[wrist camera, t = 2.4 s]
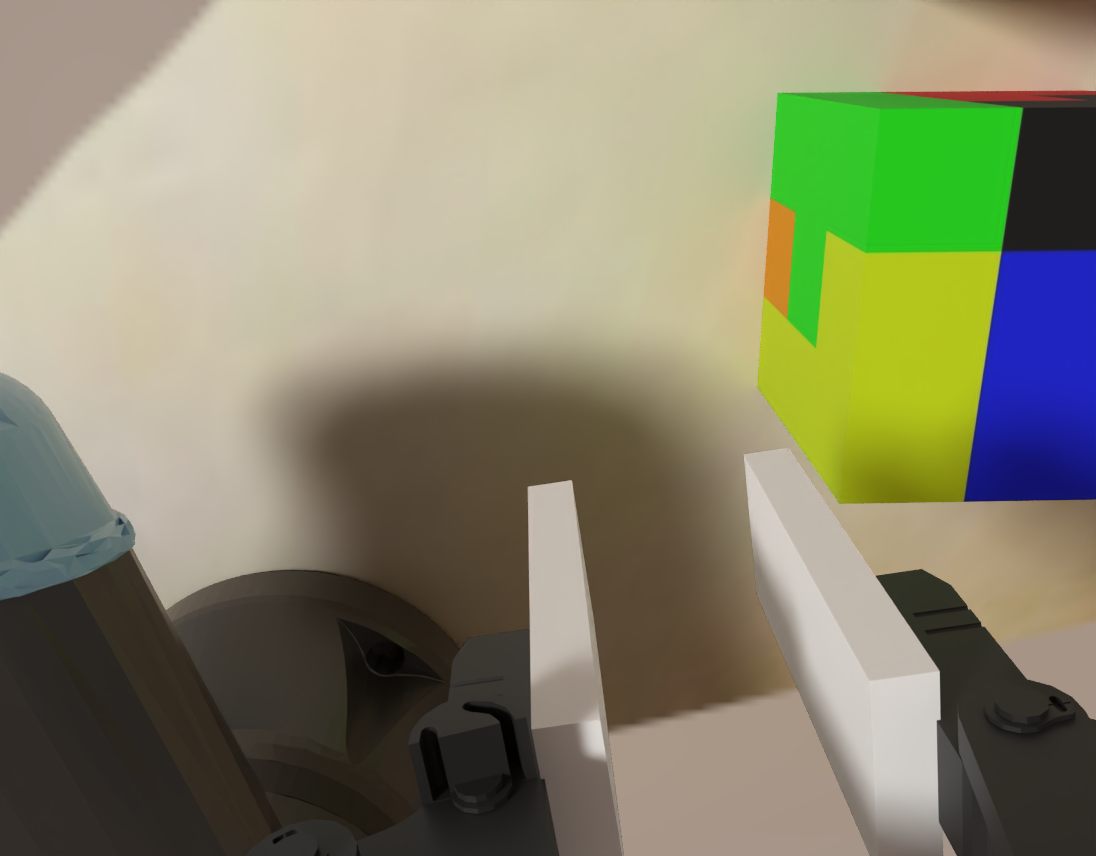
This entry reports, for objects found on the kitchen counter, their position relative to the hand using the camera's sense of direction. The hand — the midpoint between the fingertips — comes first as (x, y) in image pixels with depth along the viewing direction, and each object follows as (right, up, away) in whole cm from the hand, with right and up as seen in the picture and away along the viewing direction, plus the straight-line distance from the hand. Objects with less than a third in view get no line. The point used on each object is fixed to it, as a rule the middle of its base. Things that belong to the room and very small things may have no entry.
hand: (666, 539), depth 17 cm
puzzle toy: (+10, +8, +17) cm, 22 cm away
